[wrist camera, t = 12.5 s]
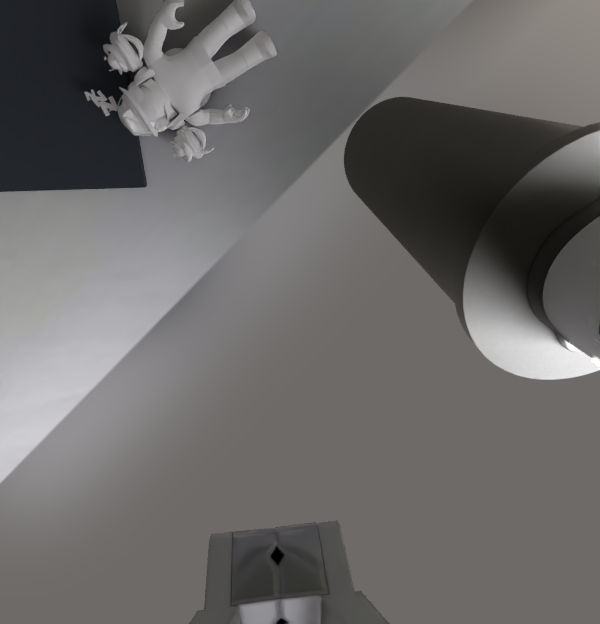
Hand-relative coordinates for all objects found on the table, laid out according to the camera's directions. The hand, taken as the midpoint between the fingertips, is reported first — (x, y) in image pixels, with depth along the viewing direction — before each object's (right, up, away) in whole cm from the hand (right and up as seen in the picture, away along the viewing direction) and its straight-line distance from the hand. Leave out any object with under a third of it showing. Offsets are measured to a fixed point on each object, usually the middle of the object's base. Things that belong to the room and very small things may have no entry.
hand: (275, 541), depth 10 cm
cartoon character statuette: (-2, +24, +19) cm, 31 cm away
